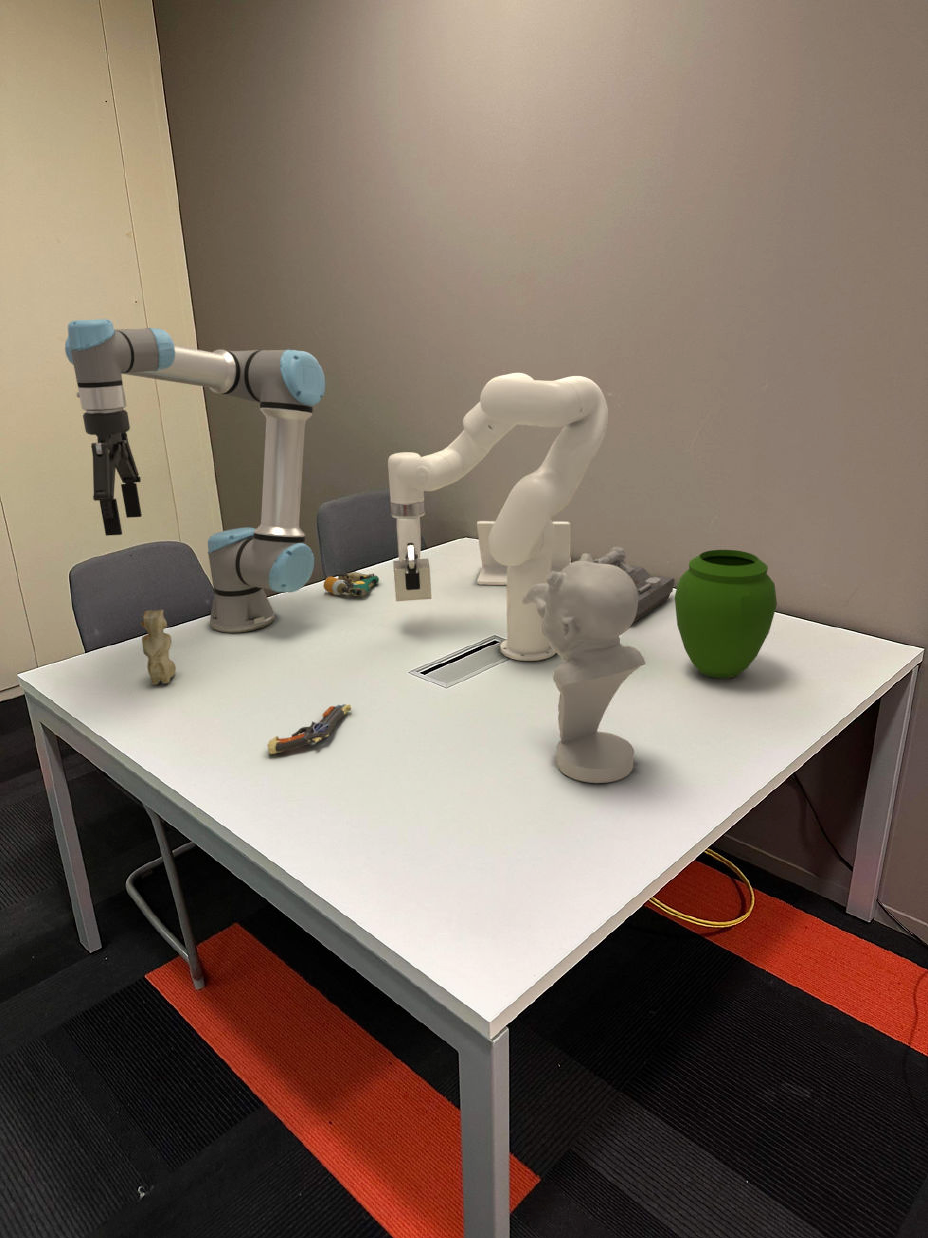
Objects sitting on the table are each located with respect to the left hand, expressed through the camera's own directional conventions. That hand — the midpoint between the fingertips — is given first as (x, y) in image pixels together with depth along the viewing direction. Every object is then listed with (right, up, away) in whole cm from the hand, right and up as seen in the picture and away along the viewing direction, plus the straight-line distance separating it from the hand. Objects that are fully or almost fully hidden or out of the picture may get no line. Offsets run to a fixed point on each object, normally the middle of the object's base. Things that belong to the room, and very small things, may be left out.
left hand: (124, 525), depth 161 cm
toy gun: (+36, -38, -6) cm, 53 cm away
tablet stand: (+81, -5, +78) cm, 113 cm away
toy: (+102, -14, +54) cm, 116 cm away
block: (+52, -12, +38) cm, 66 cm away
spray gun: (+34, -10, +71) cm, 79 cm away
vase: (+116, -29, +14) cm, 121 cm away
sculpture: (+1, -31, +18) cm, 36 cm away
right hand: (+52, -9, +37) cm, 64 cm away
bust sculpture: (+83, -41, -16) cm, 94 cm away
